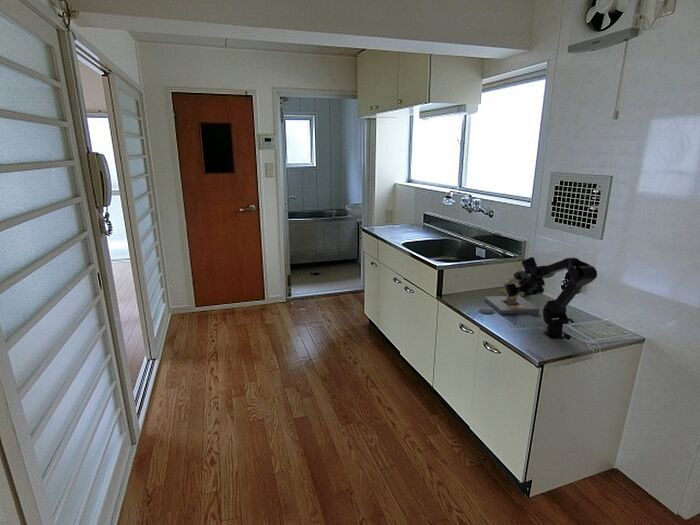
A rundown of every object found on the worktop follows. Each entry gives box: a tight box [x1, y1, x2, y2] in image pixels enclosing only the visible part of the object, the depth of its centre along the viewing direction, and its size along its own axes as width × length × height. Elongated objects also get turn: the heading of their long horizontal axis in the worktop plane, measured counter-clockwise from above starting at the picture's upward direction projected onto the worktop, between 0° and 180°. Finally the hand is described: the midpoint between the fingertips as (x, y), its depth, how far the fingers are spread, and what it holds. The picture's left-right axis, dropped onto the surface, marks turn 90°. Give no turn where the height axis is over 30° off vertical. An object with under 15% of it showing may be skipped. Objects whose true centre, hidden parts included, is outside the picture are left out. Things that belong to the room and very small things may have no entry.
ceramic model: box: [500, 276, 525, 297], centre depth 231 cm, size 14×11×10 cm
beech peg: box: [506, 284, 518, 305], centre depth 208 cm, size 5×5×13 cm
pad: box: [478, 308, 496, 316], centre depth 203 cm, size 8×8×1 cm
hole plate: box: [484, 295, 540, 315], centre depth 210 cm, size 20×20×3 cm
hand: (516, 295), depth 204 cm, fingers open, 9 cm apart
